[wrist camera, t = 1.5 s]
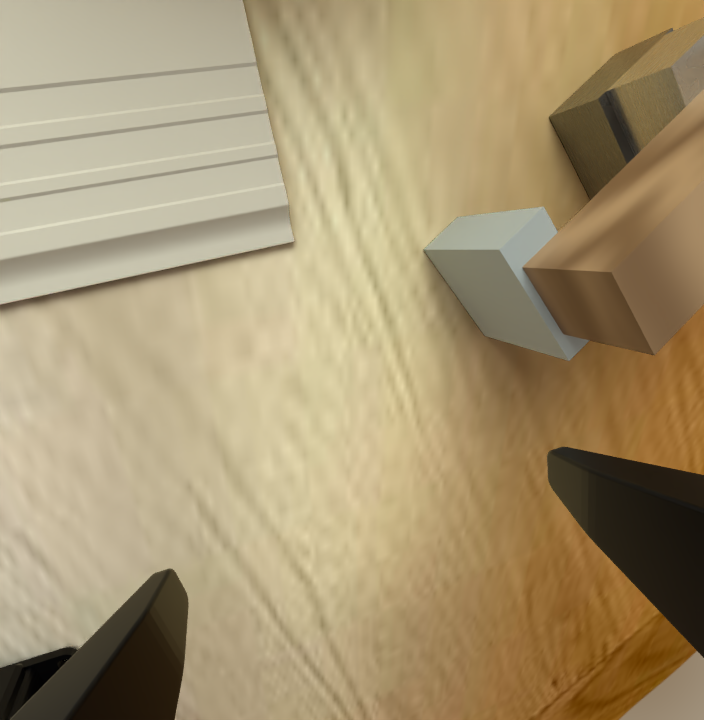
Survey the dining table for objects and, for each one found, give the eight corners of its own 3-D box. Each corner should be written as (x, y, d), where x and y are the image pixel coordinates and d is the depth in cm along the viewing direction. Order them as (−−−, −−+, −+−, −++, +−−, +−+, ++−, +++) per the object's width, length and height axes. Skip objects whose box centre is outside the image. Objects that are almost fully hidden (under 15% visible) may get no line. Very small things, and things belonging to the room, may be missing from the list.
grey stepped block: (604, 227, 26) (718, 221, 20) (548, 116, 23) (662, 74, 17) (663, 169, 26) (790, 148, 20) (615, 54, 23) (746, -7, 18)
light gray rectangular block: (484, 335, 25) (569, 360, 19) (423, 249, 22) (499, 249, 17) (515, 305, 25) (607, 321, 19) (457, 217, 22) (543, 206, 17)
